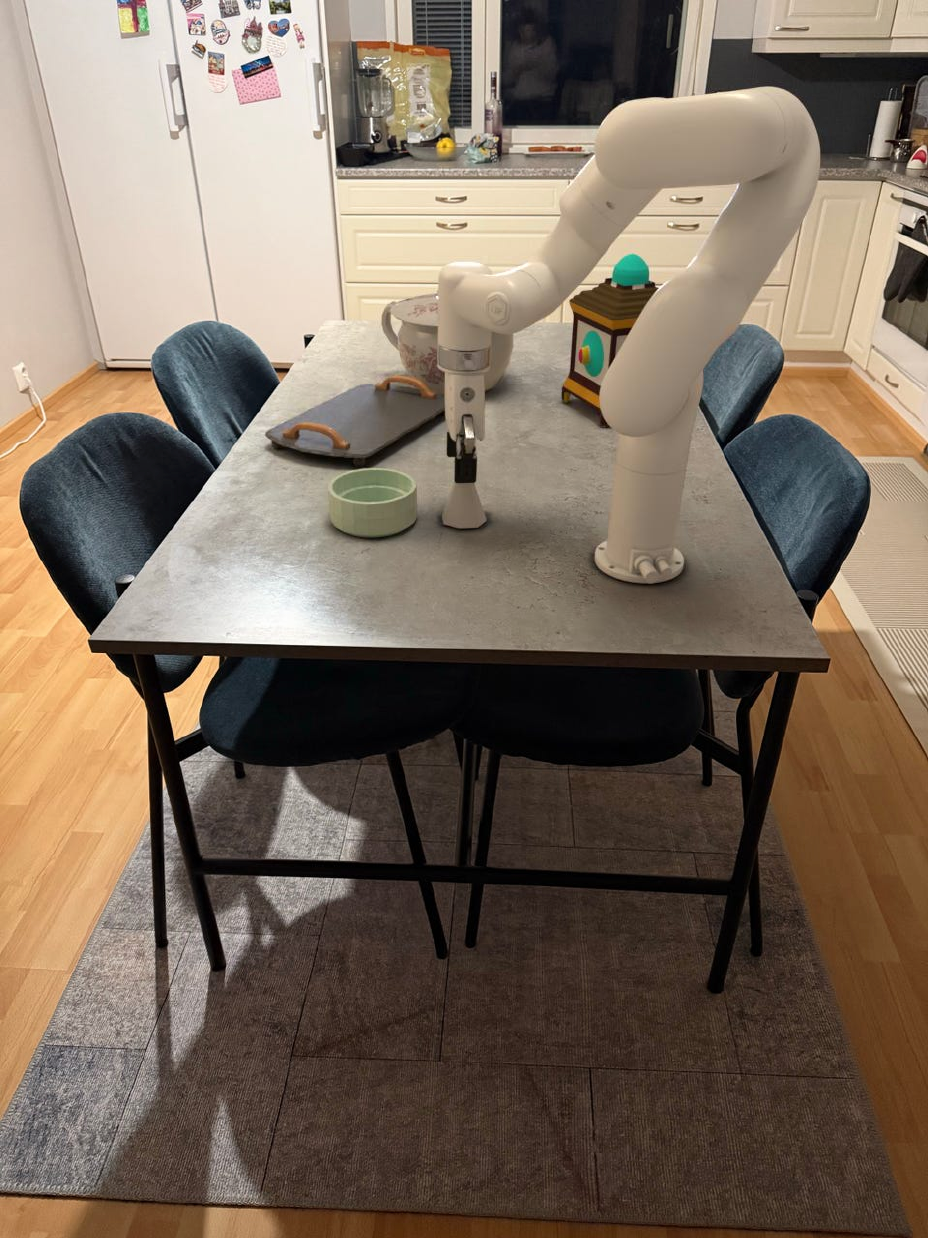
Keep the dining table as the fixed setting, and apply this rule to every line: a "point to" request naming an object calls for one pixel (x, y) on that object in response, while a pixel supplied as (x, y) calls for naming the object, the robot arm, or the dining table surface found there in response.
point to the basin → (372, 502)
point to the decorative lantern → (604, 327)
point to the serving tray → (360, 420)
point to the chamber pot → (434, 342)
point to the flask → (463, 507)
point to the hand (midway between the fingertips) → (460, 468)
